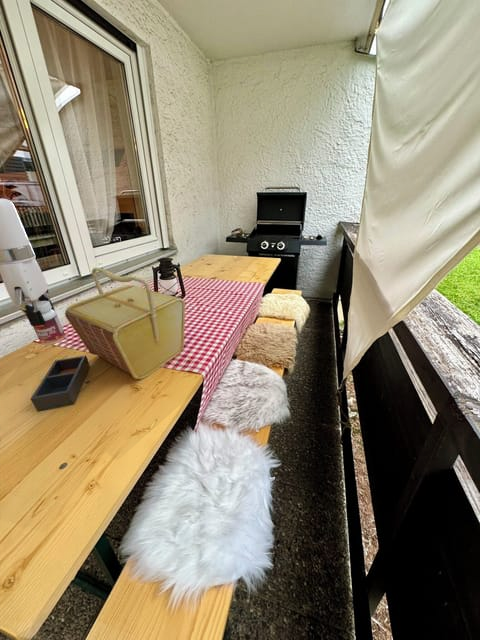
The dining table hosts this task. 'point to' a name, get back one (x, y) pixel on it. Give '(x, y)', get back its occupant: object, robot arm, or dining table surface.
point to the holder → (61, 383)
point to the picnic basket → (130, 325)
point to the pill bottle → (49, 325)
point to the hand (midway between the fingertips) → (44, 318)
